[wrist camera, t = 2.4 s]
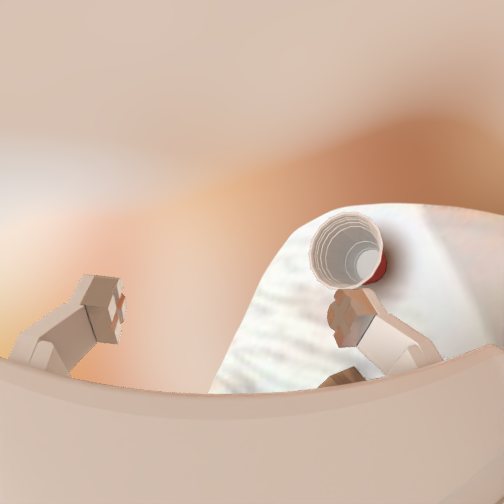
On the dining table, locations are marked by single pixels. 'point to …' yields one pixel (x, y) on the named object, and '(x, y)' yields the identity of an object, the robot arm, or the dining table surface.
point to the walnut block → (343, 378)
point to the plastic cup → (347, 252)
